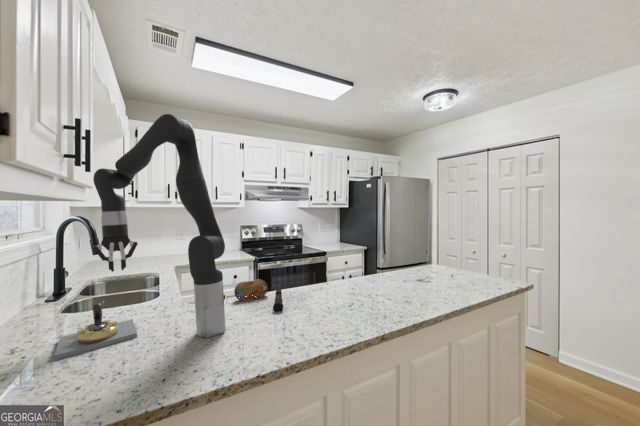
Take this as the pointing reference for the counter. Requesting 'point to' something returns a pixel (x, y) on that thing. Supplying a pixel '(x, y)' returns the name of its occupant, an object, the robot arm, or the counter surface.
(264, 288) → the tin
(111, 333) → the lever with gold dial
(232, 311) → the counter surface
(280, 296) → the hand tool
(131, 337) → the base plate
